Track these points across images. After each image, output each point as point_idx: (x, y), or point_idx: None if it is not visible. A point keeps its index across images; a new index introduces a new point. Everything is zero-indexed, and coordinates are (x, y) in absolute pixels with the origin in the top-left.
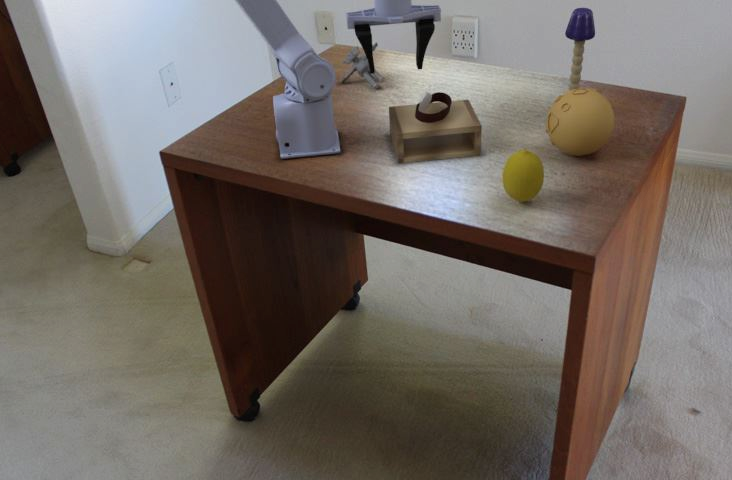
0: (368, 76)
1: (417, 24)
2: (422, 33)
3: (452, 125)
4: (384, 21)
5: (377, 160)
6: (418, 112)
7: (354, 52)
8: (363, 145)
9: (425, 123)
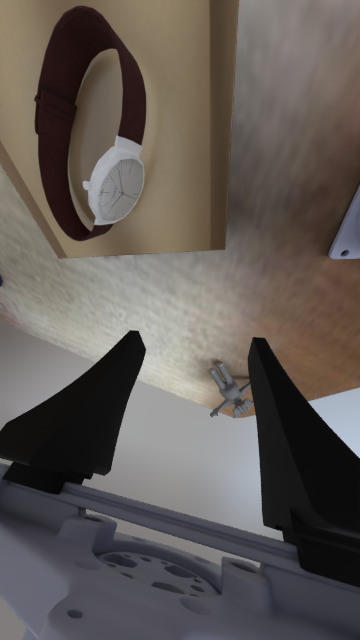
0: (227, 378)
1: (81, 467)
2: (46, 429)
3: (10, 28)
4: (216, 638)
5: (295, 39)
6: (114, 32)
7: (238, 411)
8: (295, 180)
9: (114, 73)
